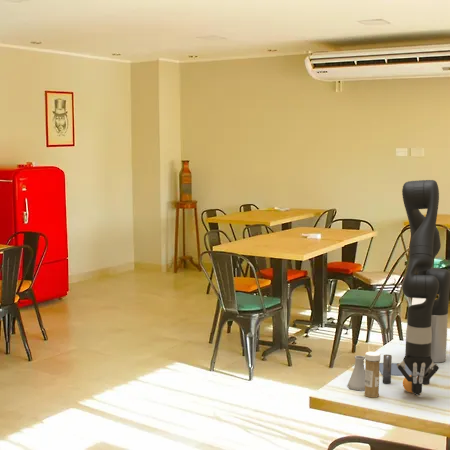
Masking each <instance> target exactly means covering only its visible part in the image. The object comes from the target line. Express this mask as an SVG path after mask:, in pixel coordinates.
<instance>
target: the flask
mask: <svg viewBox="0 0 450 450" xmlns="http://www.w3.org/2000/svg"><path fill="white" fill-rule="evenodd" d="M354 359H355V361H354V362H355V363H354V367H353V370H352V373H351V375H350V377H349V380H348V383H347V384H346V385H347V387H348V389H350V390H354V391H365V363H364V361H365V355H355V356H354Z"/></svg>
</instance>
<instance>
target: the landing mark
mask: <svg viewBox="0 0 450 450" xmlns="http://www.w3.org/2000/svg"><path fill="white" fill-rule="evenodd" d="M398 363H399V364H400V363H401V362H398ZM398 363H397V362H392V363H391V376H397V377H398V376H400V377H404V375H403V374H402V373H401V371H400V370H399V369H398V367H397V364H398ZM405 367H406V368H405V371H406V372H407V374H408V375H411V371H410V370H409V368H408V367H407V365H406V364H405ZM379 373H380V374H381V376H383V362H379Z"/></svg>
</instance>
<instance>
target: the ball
mask: <svg viewBox="0 0 450 450" xmlns="http://www.w3.org/2000/svg"><path fill="white" fill-rule="evenodd" d="M409 376H411V375H409ZM402 387H403V389H404V390H405V391H406V392H407V393H410V394H414V393H413V392H412V382H409V381H408V380H407V379H406V378H405V377H404V378H403V380H402Z"/></svg>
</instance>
